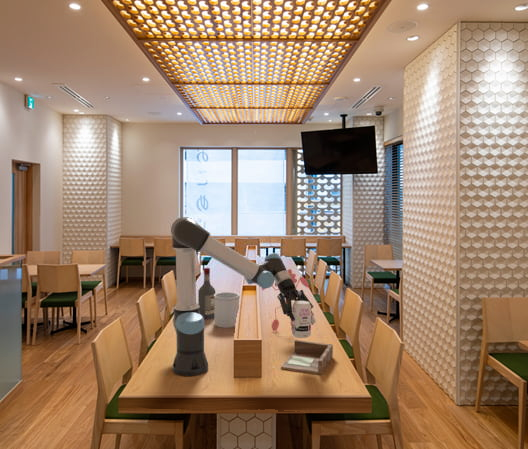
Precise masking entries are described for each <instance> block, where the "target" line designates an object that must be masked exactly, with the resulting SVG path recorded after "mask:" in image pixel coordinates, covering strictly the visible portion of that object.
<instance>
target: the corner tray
mask: <svg viewBox="0 0 528 449" xmlns="http://www.w3.org/2000/svg"><path fill="white" fill-rule="evenodd" d="M293 343H294V346H293V348H294V349H293V350H294V351H293V352H292V353H291V355H289V357H288V358H287V359H286V360H285V361H284V362H283V364H282V365H281V366H280V369H281V370H285V369H287V370H286V371H292V370H293V372H299V371H300V372H299V373H305V372H307V373H306V374H312V373H314V374H313V375H319V374H321V375H323V374H324V373H325V371H326V369H327V367H328V366H329V364H330V363H331V361H330V360H332V359H333V354H334V352H333V349H334V346H333V344H330V343H329V344H328V343H323V342H322V343H321V342H314V341H306V340H300V339H299V340H298V339H297V340H296V339H295V340H294V342H293ZM331 358H332V359H331ZM328 363H329V364H328ZM327 365H328V366H327ZM325 368H326V369H325ZM322 373H323V374H322ZM321 375H320V376H321Z"/></svg>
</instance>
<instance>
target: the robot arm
mask: <svg viewBox="0 0 528 449" xmlns="http://www.w3.org/2000/svg"><path fill="white" fill-rule="evenodd" d="M170 228H171V229H170V233H171V241H172V242H171V243H172V245H171V246H172V249H173V250H174V251H175V267H176V270H175V271H176V272H175V274H176V275H175V276H176V304H175V305H174V306H173V320H172V322H173V323H172V324H173V325H172V326H173V327H174V329H175V330H174V331H175V333H176V354H175V355H174V356H175V357H174V359H173V360H174V361H173V364H172V373H174V374H175V375H177V376H180V377H195V376H200V375H203V374H206V372H208V371H209V362H208V358H207V356H206V353H205V324H206V323H205V319H204V318H203V316H202V315H200V306H199V305H198V303H197V278H196V275H197V272H196V269H197V268H196V252H198V253H200V252H202V253H204V254H205V255H207V256H208V257H210V258H212V259H213V260H216V261H217V262H219V263H221V264H222V265H224V266H226V267H228V268H229V269H231V270H232V271H234V272H236V273H238V274H240V275H241V276H243V277H244V280H245V281H246V283H247V284H248V285H252V284H257V286H259V287H260V288H261V289H262V288H266V289H270V288H271V287H272V285H273V286H274V284H275V282H276V284H277V286H276V287H277V289H279V290H278V291H279V292H280V293H278V295H277V299H278V301H279V303H280V306H281V307H280V308H281V310H282V313H283V315H286V317H289V319H290V321H293V322H294V324H295V326H296V328H298V327H299V326H300V325H301V324H300V323H299V321H298V319H297V317H296V315H295V313H294V312H293V313H292V307H293V303H292V301H294V302H295V301H308V302H310V305H311V326H314V325H315V324H316V323H317V320H316V318H315V316H314V315H315V314H314V313H313V311H312V309H314V305H313V304H312V303H311V301H310V300H309V298H308V297H307V295H306V294H305V293H304V290H303V289H300V290H298V289H297V287H296V283H294V282H293V280H292V279H291V277H290V275H289V273H288V269H287V268H286V265H285V264H284V262H283V259H282V258H281V256H280V255H279V254H278V253H276V252H271V253H269V254H268V255H266V256H265V258H264V262H261V263H259V264H257V263H255V262H254V261H252V260H251V259H249V258H247V257H246V256H244V255H243V254H241V253H239V252H237V251H236V250H234V249H233V248H231V247H229V246H228V245H227V244H225V243H224V242H221V241H220V240H218V239H216V238H215V237H213V236H211V232H209V231H208V230H207V229H205V228H204V227H202V226H201V225H200V224H199V223H198V221H195V220H194V219H192V217H187V216H186V217H185V216H183V217H178V218H177V219H176V220H174V222H173V223H172V224H171V227H170ZM295 287H296V288H295ZM284 297H285V299H284ZM285 301H286V302H285ZM286 303H287V305H286Z"/></svg>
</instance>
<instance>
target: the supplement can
mask: <svg viewBox="0 0 528 449" xmlns="http://www.w3.org/2000/svg"><path fill="white" fill-rule="evenodd" d="M310 302H311V301H310ZM310 302H308V301H294V302H293V303H292V313H293V312H294V313H295V315H296V317H297V319H298V321H299V323H300V324H301V325H300V326H299V327H298V328H296V326H295V324H294V322H293V321H292V329H291V331H292V332H291V334H292V336H293V337H295V338H298V339H307V338H309V337H310V336H311V332H312V329H311V328H312V324H311V311H312V309H311V305H310Z"/></svg>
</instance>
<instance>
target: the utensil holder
mask: <svg viewBox="0 0 528 449" xmlns="http://www.w3.org/2000/svg"><path fill="white" fill-rule="evenodd" d="M240 297H241V295H240V293H239V292H234V291H222V292H219V291H218V292H215V294H214V318H213V319H214V326H215V327H218V328H222V329H223V328H225V329H228V328H234V327H236V326H235V323H236V317H237V313H238V310H239V311H240Z"/></svg>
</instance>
